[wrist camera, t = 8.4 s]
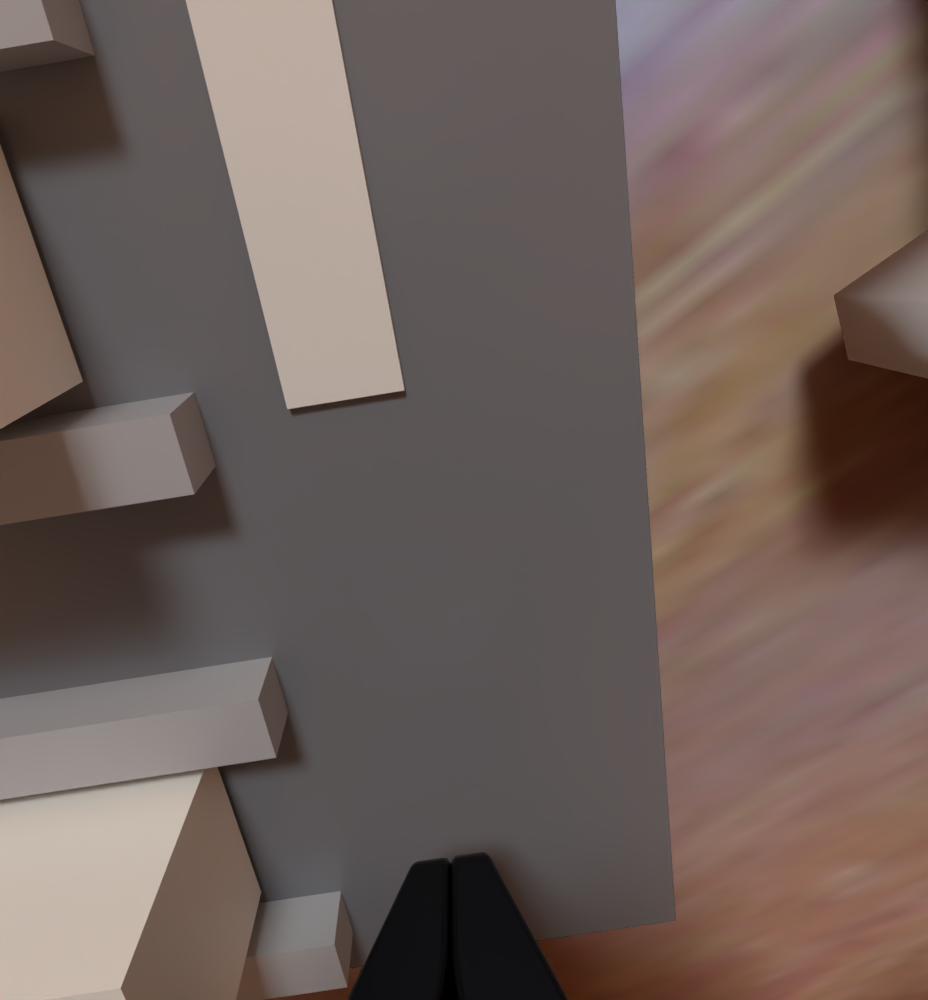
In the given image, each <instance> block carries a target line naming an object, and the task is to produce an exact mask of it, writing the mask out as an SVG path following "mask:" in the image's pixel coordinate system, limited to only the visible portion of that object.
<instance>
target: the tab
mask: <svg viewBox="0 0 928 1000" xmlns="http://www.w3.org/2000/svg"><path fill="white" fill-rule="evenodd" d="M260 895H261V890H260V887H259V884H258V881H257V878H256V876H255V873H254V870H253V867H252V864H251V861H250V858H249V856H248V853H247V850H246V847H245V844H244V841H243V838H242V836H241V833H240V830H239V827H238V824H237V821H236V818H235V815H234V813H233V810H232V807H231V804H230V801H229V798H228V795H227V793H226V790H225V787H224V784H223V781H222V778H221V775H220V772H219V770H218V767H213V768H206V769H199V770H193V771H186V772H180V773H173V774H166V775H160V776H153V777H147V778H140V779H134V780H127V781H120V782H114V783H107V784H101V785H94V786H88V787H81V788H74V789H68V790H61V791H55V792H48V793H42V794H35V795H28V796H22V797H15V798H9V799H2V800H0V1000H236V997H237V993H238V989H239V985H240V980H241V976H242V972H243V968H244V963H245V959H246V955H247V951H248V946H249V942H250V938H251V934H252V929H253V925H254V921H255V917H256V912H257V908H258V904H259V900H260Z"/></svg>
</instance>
